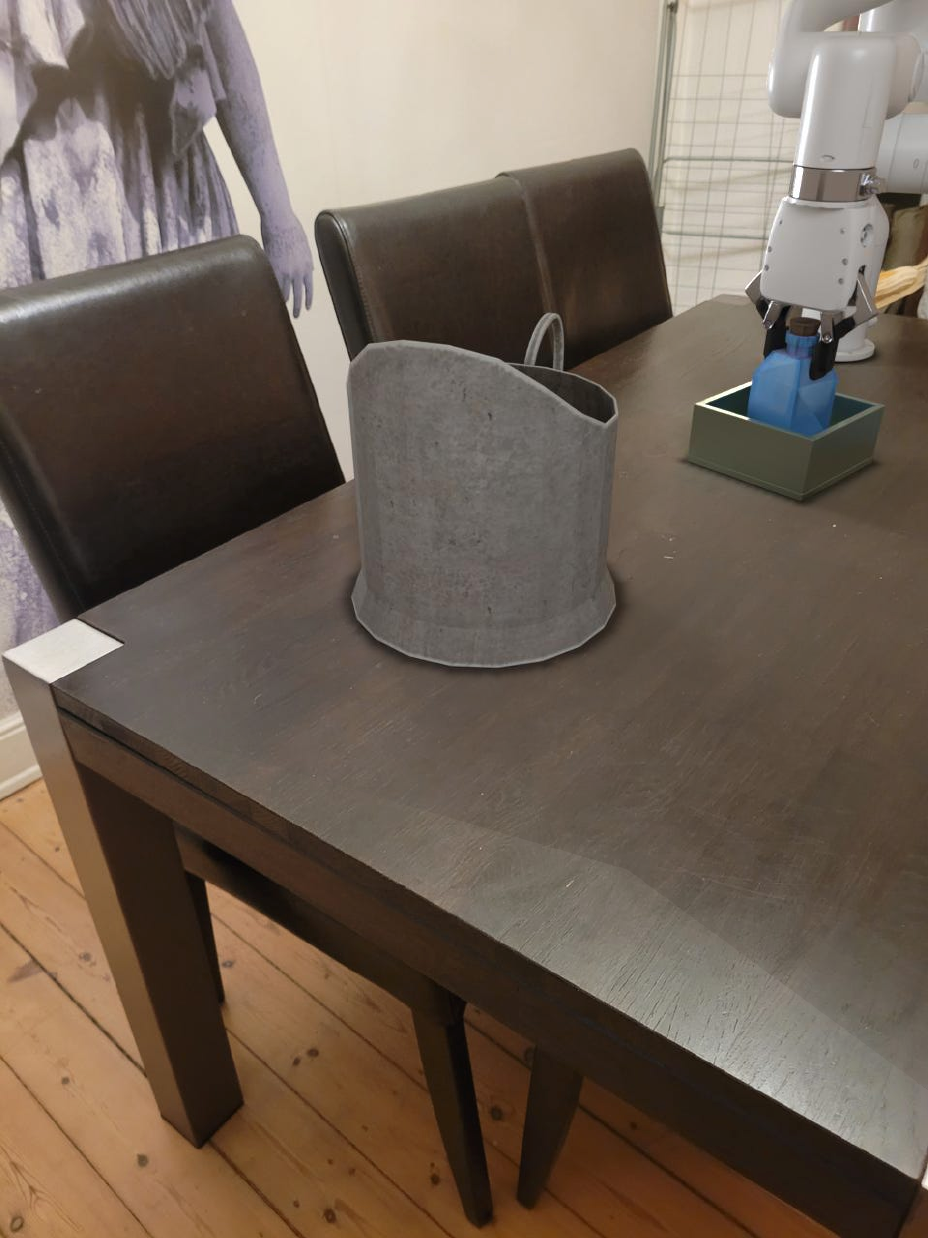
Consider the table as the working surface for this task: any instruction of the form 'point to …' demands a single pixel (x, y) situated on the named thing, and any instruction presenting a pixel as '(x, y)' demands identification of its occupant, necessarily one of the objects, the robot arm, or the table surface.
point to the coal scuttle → (480, 502)
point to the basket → (783, 444)
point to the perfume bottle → (793, 384)
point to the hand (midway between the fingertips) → (795, 369)
